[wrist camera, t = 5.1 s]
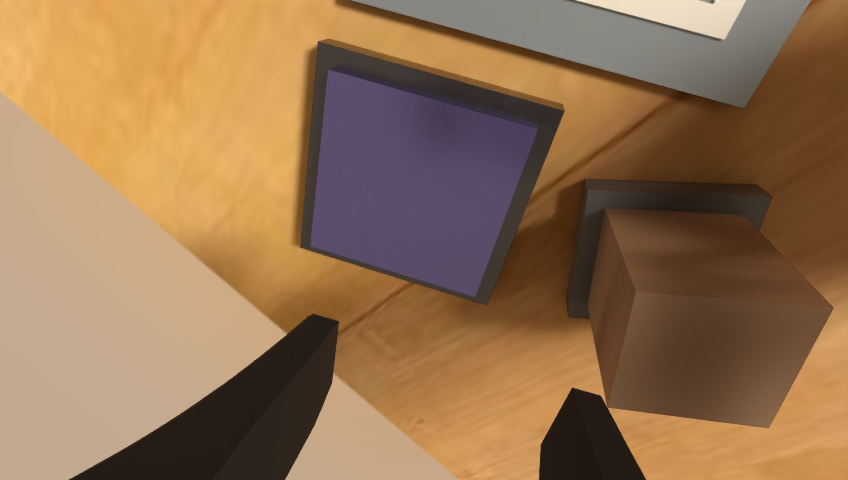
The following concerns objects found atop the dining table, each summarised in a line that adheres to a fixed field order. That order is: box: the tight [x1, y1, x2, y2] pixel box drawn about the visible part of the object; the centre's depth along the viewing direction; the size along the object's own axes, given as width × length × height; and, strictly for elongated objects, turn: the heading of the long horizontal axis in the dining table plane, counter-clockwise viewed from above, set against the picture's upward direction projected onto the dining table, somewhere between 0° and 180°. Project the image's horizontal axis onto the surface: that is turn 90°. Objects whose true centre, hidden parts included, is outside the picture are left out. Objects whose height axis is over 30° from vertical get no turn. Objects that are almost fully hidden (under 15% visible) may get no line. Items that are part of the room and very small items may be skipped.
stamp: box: [566, 179, 833, 428], centre depth 15 cm, size 6×6×6 cm
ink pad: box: [300, 39, 565, 305], centre depth 18 cm, size 9×9×2 cm
